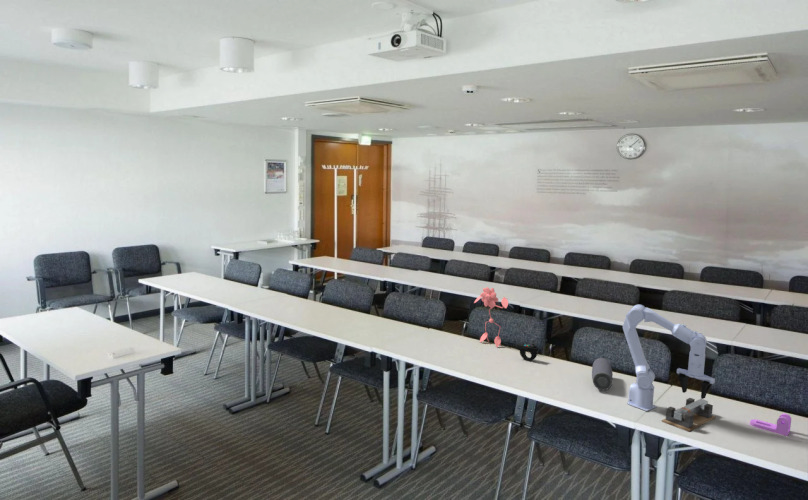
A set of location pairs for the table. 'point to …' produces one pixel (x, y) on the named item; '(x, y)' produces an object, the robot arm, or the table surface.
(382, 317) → the table surface
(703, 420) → the board
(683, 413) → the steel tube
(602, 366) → the bluetooth speaker
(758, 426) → the bracket
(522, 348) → the controller
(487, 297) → the figurine
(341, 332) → the table surface
